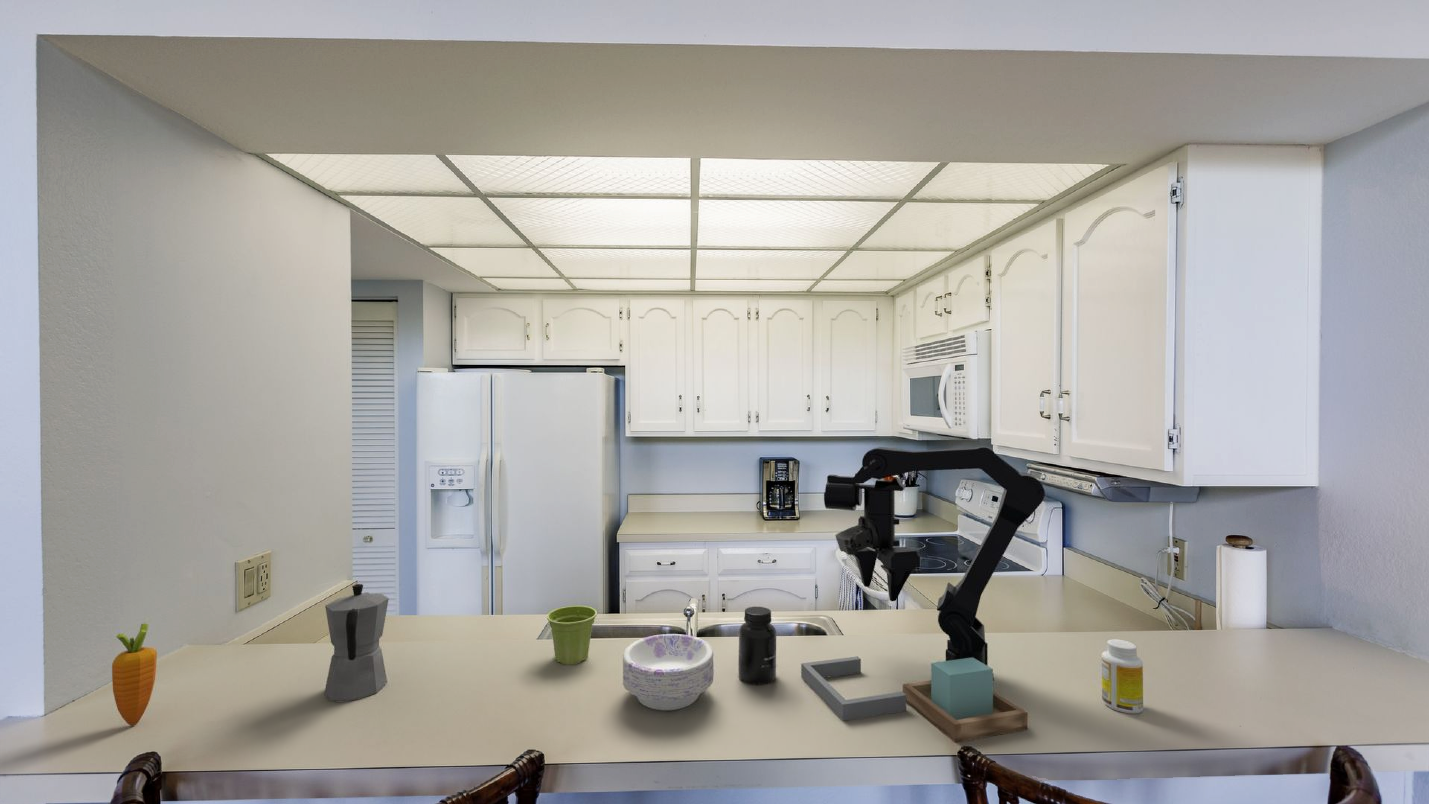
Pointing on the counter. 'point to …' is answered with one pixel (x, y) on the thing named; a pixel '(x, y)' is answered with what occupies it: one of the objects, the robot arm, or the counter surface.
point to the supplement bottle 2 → (1122, 677)
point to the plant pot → (571, 632)
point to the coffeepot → (356, 645)
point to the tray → (1000, 722)
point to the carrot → (134, 676)
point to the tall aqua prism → (962, 687)
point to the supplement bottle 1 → (757, 647)
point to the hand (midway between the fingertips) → (879, 593)
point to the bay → (851, 707)
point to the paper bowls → (668, 670)
